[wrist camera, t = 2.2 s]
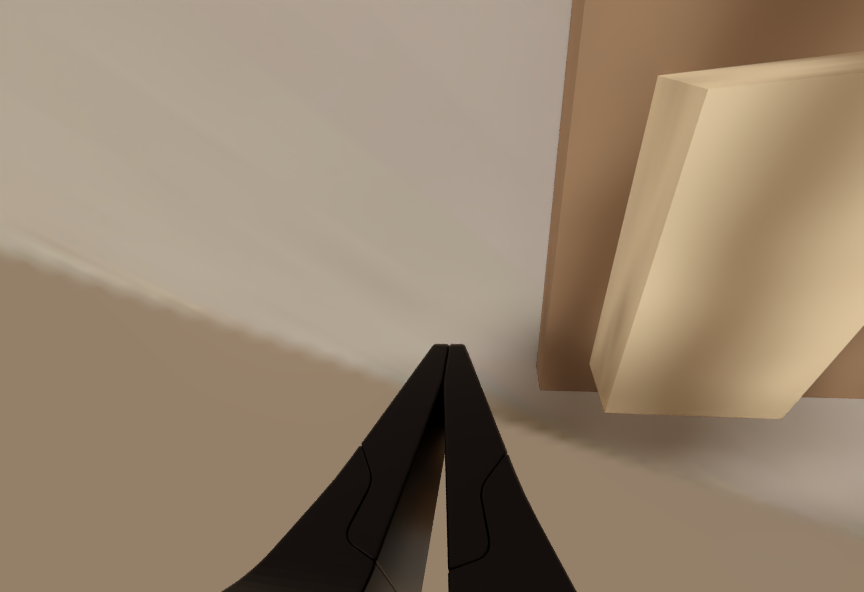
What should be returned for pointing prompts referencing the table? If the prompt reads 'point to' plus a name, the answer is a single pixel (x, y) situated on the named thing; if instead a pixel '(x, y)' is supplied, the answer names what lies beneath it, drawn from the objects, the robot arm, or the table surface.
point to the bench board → (622, 138)
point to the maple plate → (738, 242)
